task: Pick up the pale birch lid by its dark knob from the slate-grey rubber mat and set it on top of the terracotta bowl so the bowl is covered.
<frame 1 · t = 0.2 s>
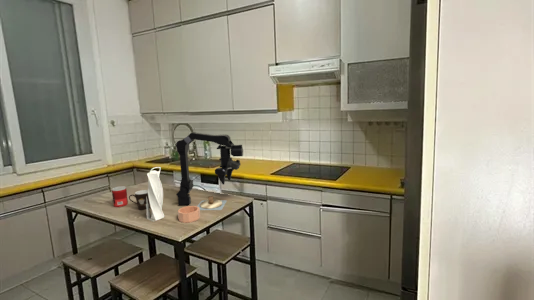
hand: (226, 182, 173), 14 cm above the table, tool pointing down, fingers open, 9 cm apart
mat: (211, 205, 174), on the table
bowl: (189, 218, 156), on the table
coffee mug: (142, 208, 174), on the table
lid: (211, 204, 174), resting on mat
skyscraper: (157, 218, 158), on the table
canned food: (121, 205, 180), on the table
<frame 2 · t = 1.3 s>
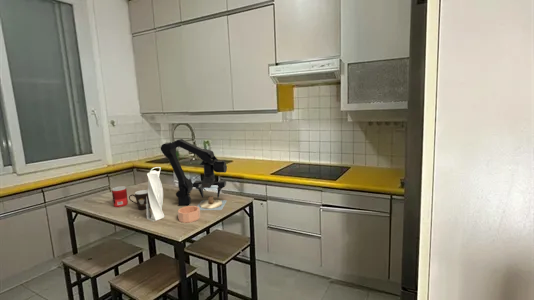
hand: (210, 197, 174), 5 cm above the table, tool pointing down, fingers open, 9 cm apart
nothing on the table moved.
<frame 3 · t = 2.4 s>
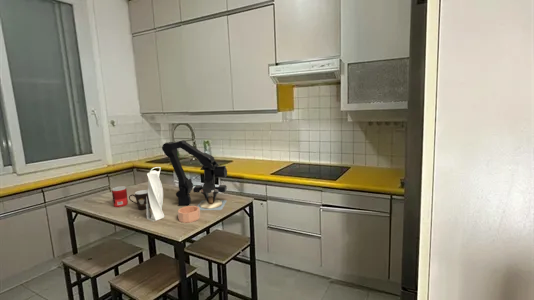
hand: (211, 202, 174), 2 cm above the table, tool pointing down, fingers closed on lid, 3 cm apart
lid: (211, 204, 174), point 1 cm above the table, touching gripper, mat
everything else where it was.
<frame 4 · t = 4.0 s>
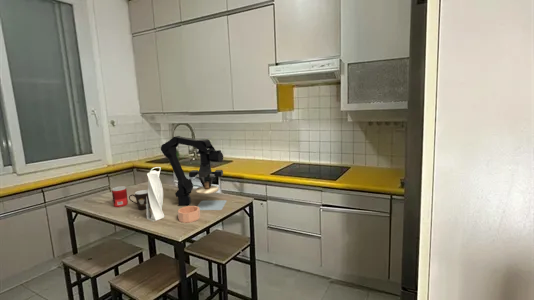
hand: (207, 187, 170), 12 cm above the table, tool pointing down, fingers closed on lid, 3 cm apart
lid: (207, 190, 170), point 10 cm above the table, touching gripper
everything else where it was.
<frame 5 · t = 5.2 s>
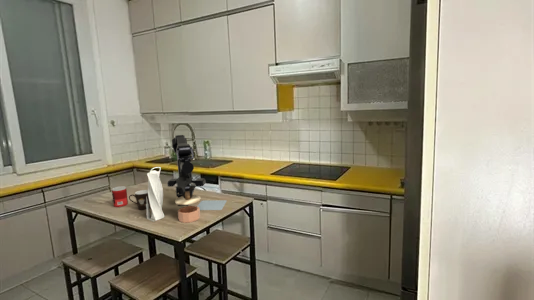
hand: (187, 198, 154), 11 cm above the table, tool pointing down, fingers closed on lid, 3 cm apart
lid: (188, 200, 155), point 10 cm above the table, touching gripper
everything else where it was.
when the fingers open (7 cm above the table, at t = 6.0 s): lid stays where it is, resting on bowl.
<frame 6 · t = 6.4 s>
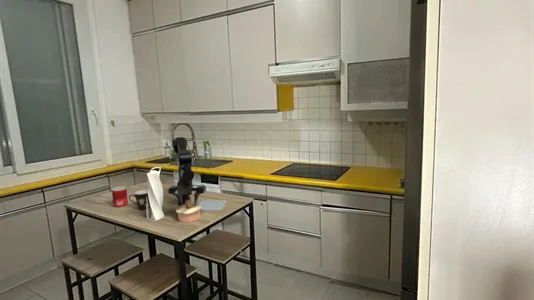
hand: (188, 205, 155), 7 cm above the table, tool pointing down, fingers open, 7 cm apart
lid: (188, 209, 155), point 5 cm above the table, touching bowl
everything else where it was.
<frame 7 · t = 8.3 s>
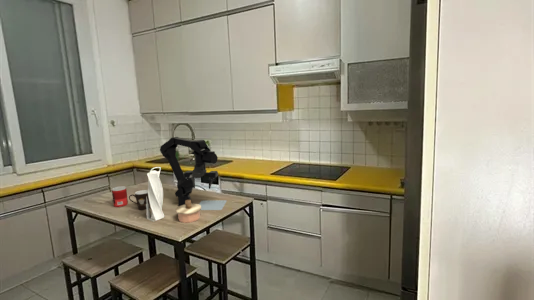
hand: (201, 188, 169), 12 cm above the table, tool pointing down, fingers open, 9 cm apart
nothing on the table moved.
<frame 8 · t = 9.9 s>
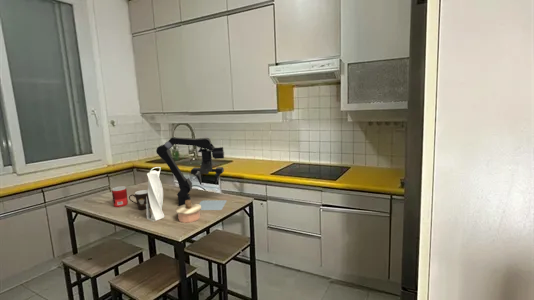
hand: (208, 184, 176), 12 cm above the table, tool pointing down, fingers open, 9 cm apart
nothing on the table moved.
at the end: lid 0.0 cm off-centre on the bowl, point 5.0 cm above the bowl's base; lid tilted 0°; the gripper is holding nothing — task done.
